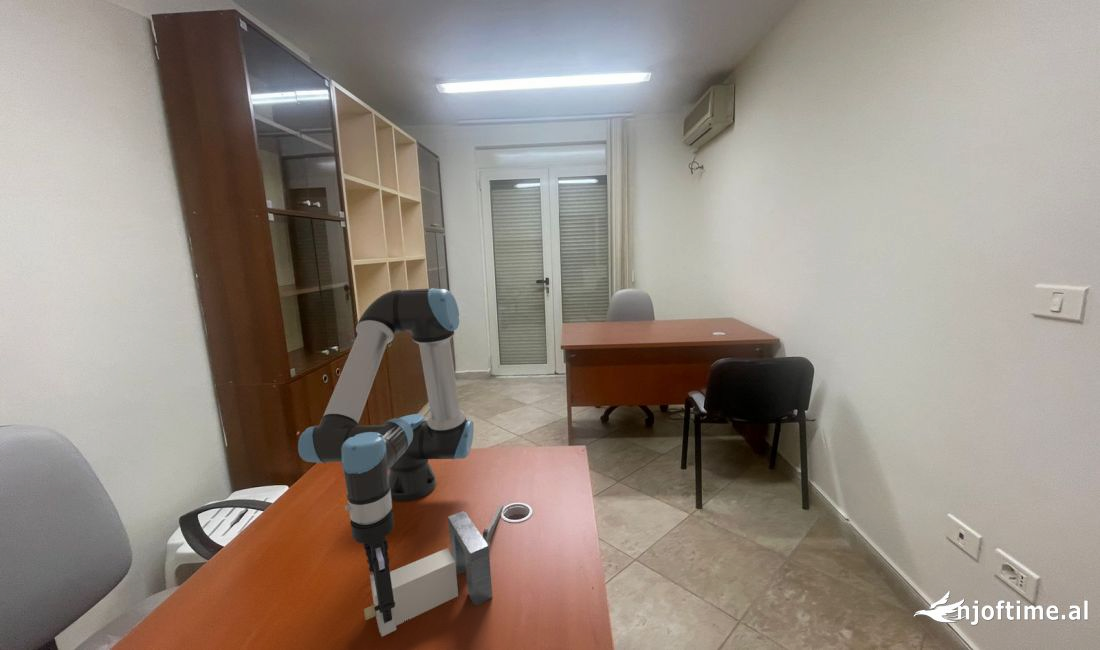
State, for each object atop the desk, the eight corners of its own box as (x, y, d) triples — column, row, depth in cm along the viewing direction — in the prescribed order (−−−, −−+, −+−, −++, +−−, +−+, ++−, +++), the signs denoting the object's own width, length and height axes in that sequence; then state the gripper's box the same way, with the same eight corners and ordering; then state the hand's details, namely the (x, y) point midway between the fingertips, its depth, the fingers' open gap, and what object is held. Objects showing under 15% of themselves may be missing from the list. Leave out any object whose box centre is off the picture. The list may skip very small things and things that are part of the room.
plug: (365, 620, 83) (360, 584, 82) (450, 581, 93) (447, 547, 91) (369, 639, 79) (363, 601, 78) (458, 596, 88) (455, 561, 87)
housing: (452, 564, 98) (447, 516, 95) (468, 557, 100) (464, 510, 97) (474, 606, 85) (470, 553, 83) (492, 597, 87) (488, 545, 85)
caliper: (487, 558, 99) (485, 535, 98) (483, 558, 99) (481, 535, 98) (503, 507, 119) (502, 487, 118) (500, 507, 119) (498, 487, 118)
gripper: (344, 494, 86) (357, 588, 90) (357, 554, 68) (373, 668, 72) (382, 482, 90) (393, 573, 94) (404, 536, 72) (416, 646, 76)
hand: (384, 614), depth 83 cm, fingers open, 8 cm apart
